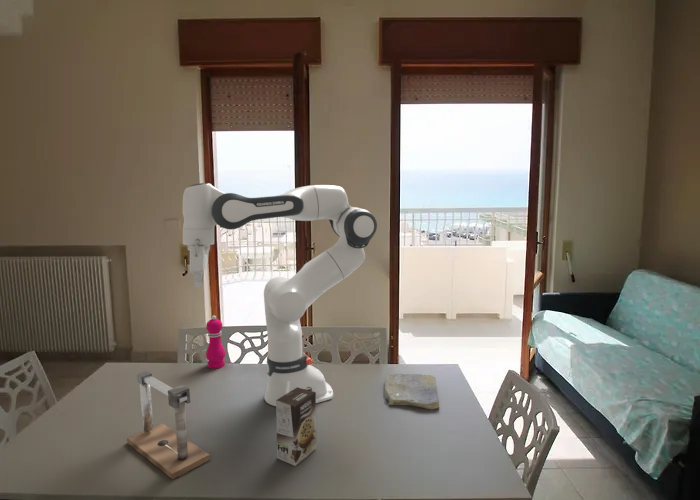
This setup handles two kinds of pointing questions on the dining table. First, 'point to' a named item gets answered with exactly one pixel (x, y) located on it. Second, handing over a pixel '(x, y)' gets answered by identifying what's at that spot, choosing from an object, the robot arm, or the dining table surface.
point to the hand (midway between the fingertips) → (199, 285)
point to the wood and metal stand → (170, 441)
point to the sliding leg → (145, 393)
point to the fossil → (411, 390)
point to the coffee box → (296, 425)
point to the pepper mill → (215, 344)
